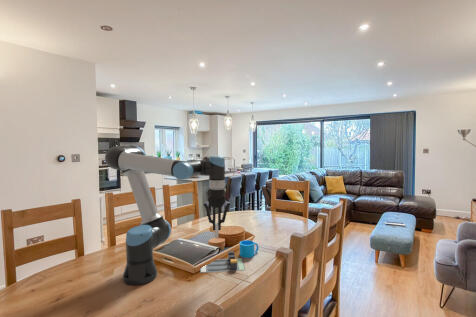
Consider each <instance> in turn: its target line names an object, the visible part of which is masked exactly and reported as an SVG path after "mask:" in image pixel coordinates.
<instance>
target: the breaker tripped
mask: <svg viewBox="0 0 476 317" xmlns="http://www.w3.org/2000/svg"><path fill="white" fill-rule="evenodd" d="M230 266H231V270H233V269H237V259H230Z"/></svg>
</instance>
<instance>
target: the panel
mask: <svg viewBox="0 0 476 317" xmlns="http://www.w3.org/2000/svg"><path fill="white" fill-rule="evenodd" d="M216 259H217V260H215V261H213V262H211V263H210V264H208V265H205V266H203V267H202V268H200V269H199V274H204V273H206V274H207V273H223V272H238V271H239V272H242V271H246V267H245V264H244V259H243V257H237V258H236V257H235V259H237V269H233V270H231V266H230V265H229V260H228V258H216Z"/></svg>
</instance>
